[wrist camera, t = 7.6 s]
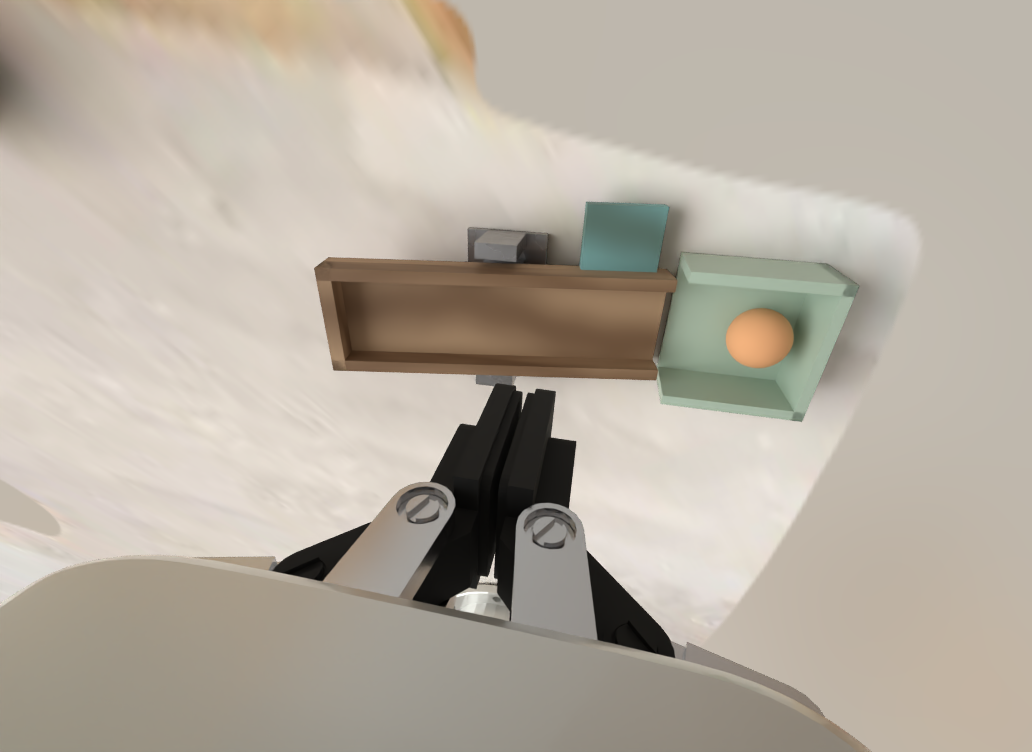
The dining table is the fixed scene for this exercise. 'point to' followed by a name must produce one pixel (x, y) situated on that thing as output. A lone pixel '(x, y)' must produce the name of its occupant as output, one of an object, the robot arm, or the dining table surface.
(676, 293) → the tray
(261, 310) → the dining table surface
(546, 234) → the fulcrum
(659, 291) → the lever
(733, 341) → the ball
